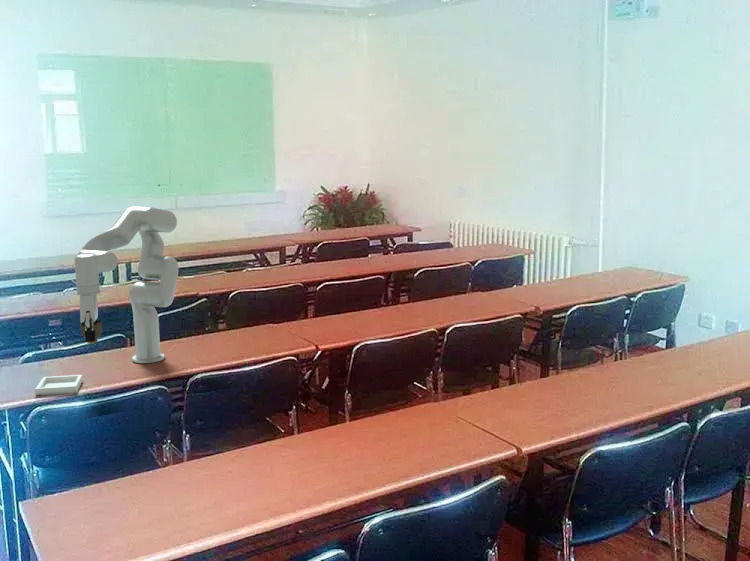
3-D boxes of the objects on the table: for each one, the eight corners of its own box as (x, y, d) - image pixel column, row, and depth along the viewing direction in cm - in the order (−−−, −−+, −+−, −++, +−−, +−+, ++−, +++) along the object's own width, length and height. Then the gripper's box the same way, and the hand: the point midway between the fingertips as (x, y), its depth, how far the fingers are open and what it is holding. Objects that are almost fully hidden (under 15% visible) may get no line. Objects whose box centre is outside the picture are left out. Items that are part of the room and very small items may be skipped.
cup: (76, 344, 267) (74, 322, 266) (92, 339, 274) (90, 317, 272) (92, 346, 264) (90, 324, 262) (107, 341, 270) (106, 320, 269)
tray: (44, 383, 275) (43, 376, 274) (82, 381, 277) (82, 374, 277) (35, 395, 262) (34, 389, 261) (76, 393, 265) (75, 386, 264)
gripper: (80, 285, 273) (84, 333, 276) (73, 294, 256) (77, 345, 259) (102, 284, 274) (105, 332, 278) (96, 293, 258) (100, 344, 261)
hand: (91, 338), depth 269 cm, fingers closed on cup, 6 cm apart
